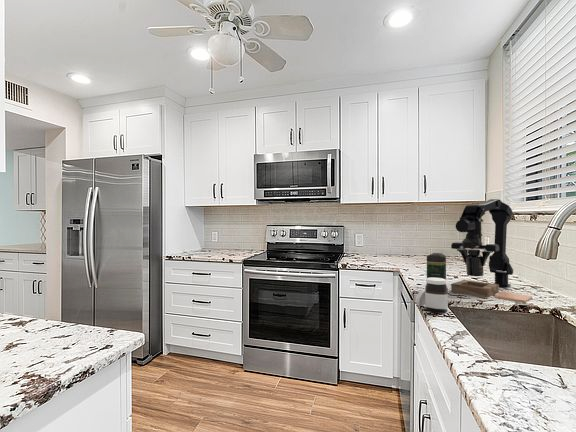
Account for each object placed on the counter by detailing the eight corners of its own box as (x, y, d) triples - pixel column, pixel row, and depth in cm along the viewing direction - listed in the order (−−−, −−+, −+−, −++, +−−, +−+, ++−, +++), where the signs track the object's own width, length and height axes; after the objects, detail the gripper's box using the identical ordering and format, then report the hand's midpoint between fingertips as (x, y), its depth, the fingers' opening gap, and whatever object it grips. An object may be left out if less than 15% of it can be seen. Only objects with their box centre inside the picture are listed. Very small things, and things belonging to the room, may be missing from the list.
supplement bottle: (479, 274, 151) (478, 248, 151) (486, 276, 144) (485, 250, 144) (463, 274, 152) (463, 248, 152) (470, 276, 145) (469, 250, 145)
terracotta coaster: (502, 293, 144) (502, 291, 144) (532, 298, 136) (532, 296, 136) (494, 297, 137) (494, 295, 137) (525, 302, 129) (525, 300, 129)
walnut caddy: (464, 286, 159) (463, 279, 159) (498, 291, 147) (498, 284, 147) (451, 291, 149) (451, 284, 149) (487, 297, 137) (487, 289, 137)
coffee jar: (444, 297, 138) (444, 254, 138) (425, 295, 143) (424, 253, 143) (447, 292, 146) (447, 252, 146) (429, 290, 151) (428, 251, 151)
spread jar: (447, 315, 114) (446, 282, 114) (413, 310, 119) (413, 279, 119) (448, 306, 124) (448, 276, 124) (417, 303, 130) (417, 274, 130)
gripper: (446, 231, 150) (446, 264, 150) (491, 233, 136) (491, 269, 136) (455, 230, 157) (456, 262, 157) (499, 232, 143) (499, 266, 143)
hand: (474, 265), depth 148 cm, fingers closed on supplement bottle, 7 cm apart
